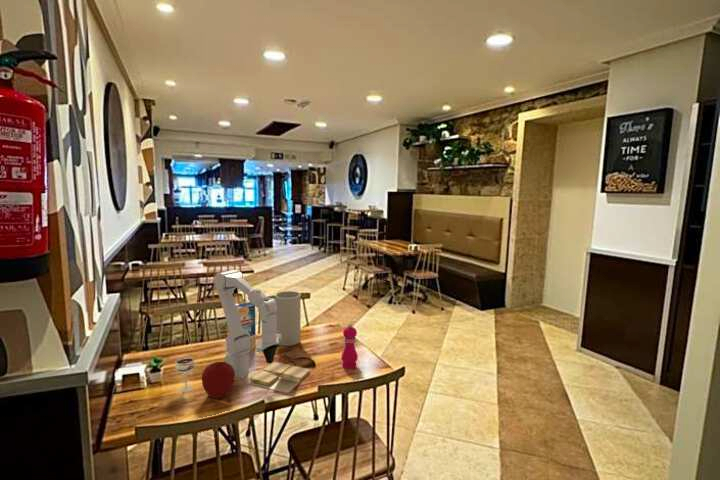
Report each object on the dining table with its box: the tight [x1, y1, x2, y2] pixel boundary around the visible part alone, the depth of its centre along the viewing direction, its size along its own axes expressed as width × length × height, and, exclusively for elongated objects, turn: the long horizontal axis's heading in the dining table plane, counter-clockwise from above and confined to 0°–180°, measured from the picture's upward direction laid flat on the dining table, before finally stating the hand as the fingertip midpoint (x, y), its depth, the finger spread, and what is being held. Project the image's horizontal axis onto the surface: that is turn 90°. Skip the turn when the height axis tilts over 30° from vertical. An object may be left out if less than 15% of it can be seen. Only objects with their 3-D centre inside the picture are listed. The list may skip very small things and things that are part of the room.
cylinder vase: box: [274, 290, 302, 347], centre depth 194 cm, size 12×12×25 cm
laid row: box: [262, 361, 311, 382], centre depth 163 cm, size 18×8×1 cm, turn 70°
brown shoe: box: [284, 345, 316, 369], centre depth 175 cm, size 18×7×7 cm, turn 34°
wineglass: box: [175, 355, 196, 393], centre depth 148 cm, size 7×7×12 cm
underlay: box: [246, 369, 312, 394], centre depth 159 cm, size 20×19×1 cm
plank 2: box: [272, 371, 301, 383], centre depth 154 cm, size 9×8×1 cm
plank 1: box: [249, 370, 279, 385], centre depth 156 cm, size 9×8×1 cm
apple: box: [201, 361, 236, 400], centre depth 144 cm, size 12×12×13 cm
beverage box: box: [228, 301, 257, 351], centre depth 185 cm, size 7×11×22 cm, turn 124°
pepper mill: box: [341, 323, 358, 370], centre depth 169 cm, size 7×7×20 cm
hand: (269, 362), depth 152 cm, fingers closed
